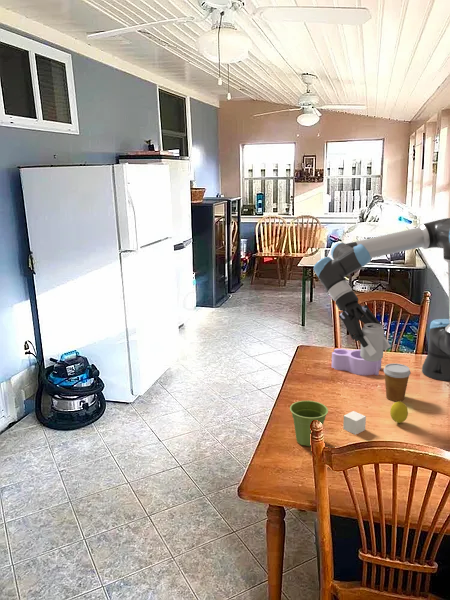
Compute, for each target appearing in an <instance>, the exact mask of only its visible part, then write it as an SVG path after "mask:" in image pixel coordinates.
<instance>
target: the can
mask: <svg viewBox="0 0 450 600" xmlns="http://www.w3.org/2000/svg"><path fill="white" fill-rule="evenodd" d="M382 325H383V324H382ZM382 325H380V324H376V323H367V324H364V323H363V327H361V330H362V333H363V337H364V336H366V337H367V338H368V340H369V341H370V343H371V344H372V346H373V347H374V349H375V350H376V353H375V354H373V355H372V356H369V354H368V352H367V351H366V349H365V348H364V347H363V346H362V345H361V344H360V349H361V352H360V356H361V357H362V358H363V359H364V360H366V361H371V362H375V361H379V360H380V359H384V358H383V357H384V349H383V347H384V336H385V329H384V326H382Z"/></svg>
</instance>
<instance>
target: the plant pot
mask: <svg viewBox="0 0 450 600" xmlns="http://www.w3.org/2000/svg"><path fill="white" fill-rule="evenodd" d="M289 411H290V412H291V415H292V418H293V420H292V421H293V424H294V425H293V426H294V432H295V439H296V442H297V443H298V444H299V445H301V446H306V447H311V446H310V434H311V430H310V424H311V422H312V421H313V420H318V421H320V422H321V423H322V424H323V425H324V422H325V419H326V417H327V415H328V413H329V408H328V407H327V406H326V405H325V404H323V403H321V402H318V401H314V400H300V401H299V400H298V401H296V402H293V403H292V404H290V406H289Z"/></svg>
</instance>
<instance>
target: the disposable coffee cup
mask: <svg viewBox="0 0 450 600" xmlns="http://www.w3.org/2000/svg"><path fill="white" fill-rule="evenodd" d="M383 373H384V381H385V394H386V399H388V400H389V401H392V402H399V401H401V402H403V401H404V400H405V397H406V393H407V392H406V391H407V386H408V381H409V377H410V375H411V373H412V372H411V370H410V367H409V366H407V365H406V364H401V363H395V362H394V363H387V364H386V365H384V368H383Z"/></svg>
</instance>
